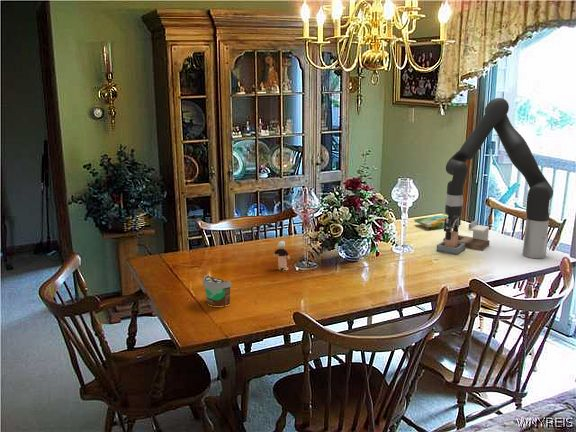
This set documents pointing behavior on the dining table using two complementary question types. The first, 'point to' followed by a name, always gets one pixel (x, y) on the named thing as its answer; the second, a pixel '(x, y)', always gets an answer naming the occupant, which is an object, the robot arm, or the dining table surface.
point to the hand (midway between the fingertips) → (451, 237)
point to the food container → (217, 291)
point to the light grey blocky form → (479, 231)
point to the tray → (450, 248)
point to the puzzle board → (473, 242)
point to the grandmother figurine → (282, 256)
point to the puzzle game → (432, 222)
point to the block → (452, 240)
